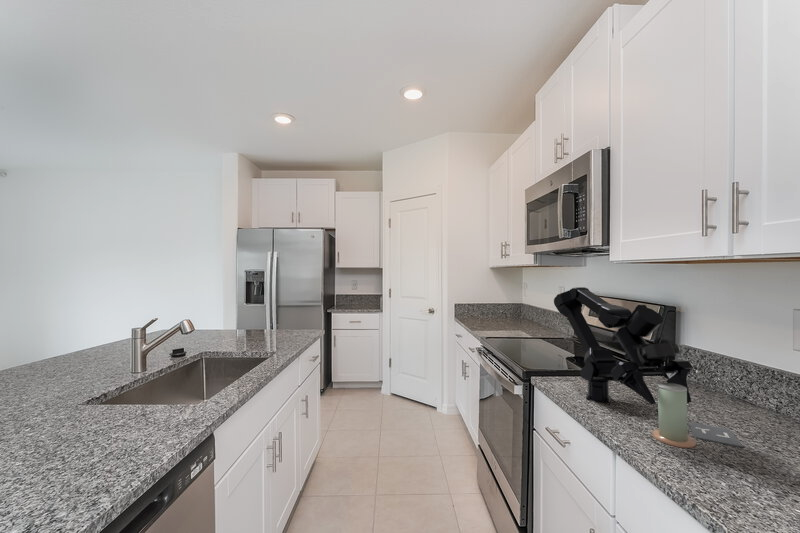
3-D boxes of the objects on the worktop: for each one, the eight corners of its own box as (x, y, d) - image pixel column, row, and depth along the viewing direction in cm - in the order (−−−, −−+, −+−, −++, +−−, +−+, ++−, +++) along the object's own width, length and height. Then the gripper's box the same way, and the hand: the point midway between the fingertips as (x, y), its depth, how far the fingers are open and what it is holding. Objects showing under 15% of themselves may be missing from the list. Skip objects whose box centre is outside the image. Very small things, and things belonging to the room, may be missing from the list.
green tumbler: (660, 429, 84) (659, 380, 85) (689, 436, 81) (688, 386, 81) (656, 436, 81) (655, 386, 81) (686, 444, 77) (685, 391, 77)
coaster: (651, 428, 86) (651, 426, 86) (692, 436, 82) (692, 434, 82) (654, 441, 79) (654, 439, 79) (698, 451, 75) (698, 448, 75)
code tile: (688, 422, 89) (688, 421, 89) (729, 430, 85) (729, 428, 85) (695, 438, 81) (695, 436, 81) (741, 447, 77) (741, 445, 77)
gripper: (618, 330, 86) (655, 388, 74) (686, 328, 87) (732, 386, 76) (597, 353, 93) (628, 410, 82) (660, 351, 95) (699, 407, 84)
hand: (671, 403), depth 81 cm, fingers open, 9 cm apart
